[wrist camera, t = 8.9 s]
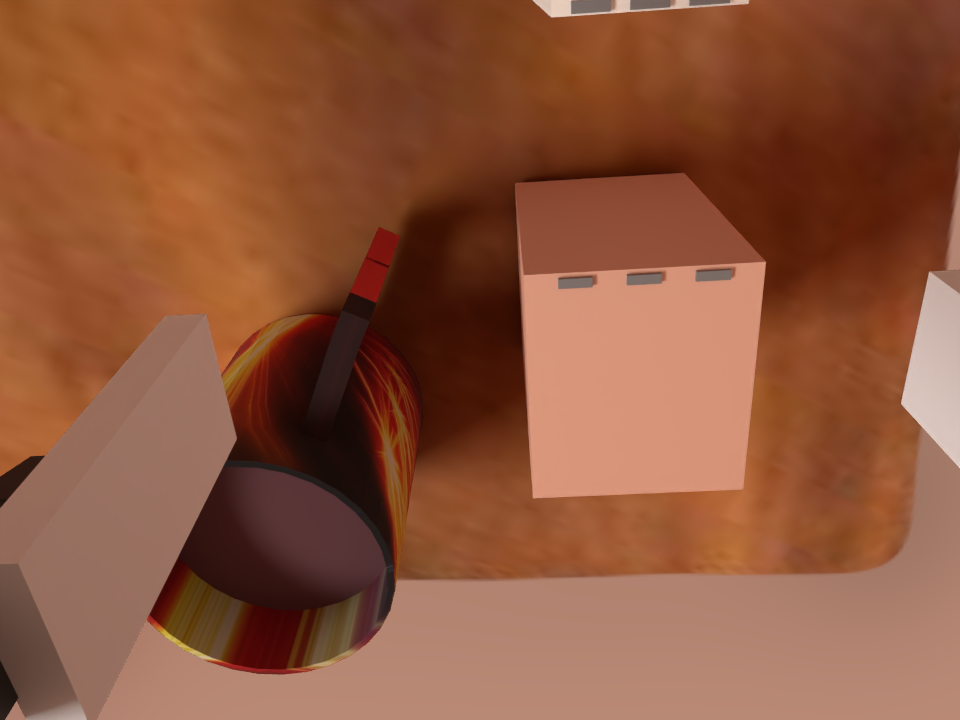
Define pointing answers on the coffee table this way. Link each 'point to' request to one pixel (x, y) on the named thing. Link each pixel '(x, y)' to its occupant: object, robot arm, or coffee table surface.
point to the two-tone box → (622, 5)
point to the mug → (303, 494)
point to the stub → (635, 336)
